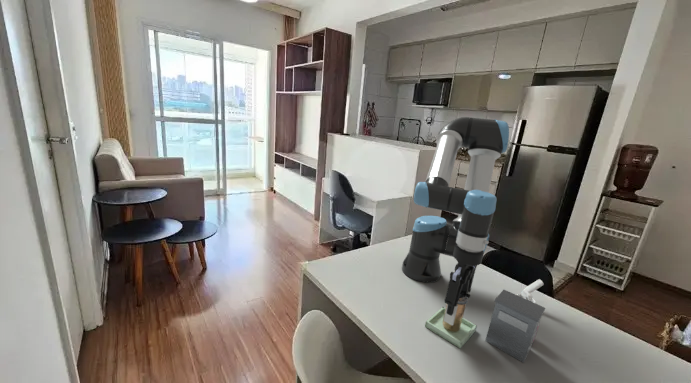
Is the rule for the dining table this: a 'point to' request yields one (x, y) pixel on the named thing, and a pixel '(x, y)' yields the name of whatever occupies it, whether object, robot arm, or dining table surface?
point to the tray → (453, 337)
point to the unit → (514, 324)
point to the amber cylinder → (457, 314)
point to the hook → (530, 290)
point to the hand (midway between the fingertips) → (452, 318)
